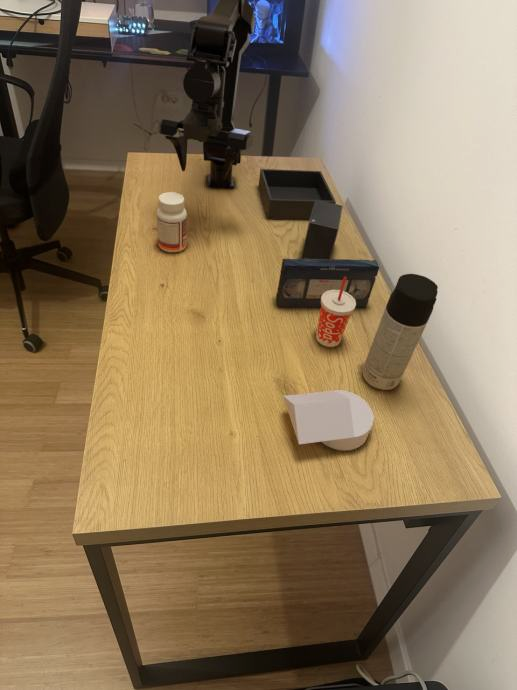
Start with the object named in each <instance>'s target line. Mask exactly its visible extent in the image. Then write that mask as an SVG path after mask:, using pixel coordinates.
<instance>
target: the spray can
mask: <svg viewBox="0 0 517 690" xmlns="http://www.w3.org/2000/svg"><path fill="white" fill-rule="evenodd" d="M438 289H439V286H438V284H436V282H435V281H433V280H432V279H430V278H428V277H426V276H424V275H421V274H417V273H407V274H402V275H400V276H399V278H398V280H397V282H396V284H395V287H394V289H393V291H392V292H391V293H390V295H389V298H388V300H387V303H386V306H385V308H384V311H383V314H382V316H381V319H380V321H379V324H378V327H377V330H376V332H375V335H374V337H373V340H372V343H371V345H370V348H369V351H368V353H367V355H366V359H365V361H364V364H363V366H362V371H361V372H362V374H361V375H362V378H363V379H364V382H366V383H367V384H368V385H369V386H370V387H372V388H374V389H376V390H382V391H390V390H393V389H395V388H396V387H397V386H398V385H400V382H401V381H402V380H401V379H402V378H403V376H404V374H405V372H406V370H407V368H408V365H409V363H410V361H411V358H412V356H413V354H414V352H415V351H416V348H417V346H418V344H419V342H420V340H421V337H422V335H423V333H424V331H425V329H426V327H427V324H428V322H429V320H430V317H431V315H432V314H433V311H434V307H435V305H436V301H437V297H438V292H439V291H438Z"/></svg>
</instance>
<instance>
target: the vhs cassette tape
mask: <svg viewBox="0 0 517 690" xmlns="http://www.w3.org/2000/svg"><path fill="white" fill-rule="evenodd" d="M379 270H380V266H379V263H378V261H377V259H372V260H371V259H350V258H349V259H348V258H347V259H345V258H343V259H342V258H341V259H340V258H338V259H337V258H335V259H330V260H328V259H301V258H282V261H281V267H280V272H279V273H280V274H279V279H278V280H279V281H278V284H277V291H276V296H275V298H276V304H277V307H279V308H321V297H322V295H323V293H325V292H326V291H329V290H340V289H341V285H342V282H343V278H344V276H345V277H347V278H346V282H345V285H344V289H343V291H344V292H347V293H348V294H350V295H351V296H352V297H353V298H354V299H355V301H356V306H355V308H365V307H367V306H368V303H369V301H370V297H371V294H372V291H373V288H374V285H375V283H376V280H377V276H378V273H379Z"/></svg>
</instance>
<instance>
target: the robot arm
mask: <svg viewBox="0 0 517 690" xmlns="http://www.w3.org/2000/svg"><path fill="white" fill-rule="evenodd" d="M255 24H256V15H255V9H254V7H253V6H252V5H251V4H249V2H248V1H247V0H217V2H216V4H215V6H214V8H213V9H212V12H211V13H210V15H204V16H201V17H200V18H198V19H197V20H196V22H195V25H193V26H192V29H191V33H190V39H189V42H188V48H187V52H186V61H187V62H192V63H193V67H190V68H189V69H187V71H186V73H185V74H184V77H183V81H182V84H183V85H182V87H183V91H184V92H185V95H186V96H187V97H188V98H189V99H190V100H192V101H191V109H190V111H189V112H188V113H187V114H186V116H185V118H182V117H177V116H172V115H171V116H168V117H165V118H162V119H161V120H160V121H159V129H158V131H159V132H158V133H159V134H160V135H165V140H168V141H170V143H171V144H172V145H173V147H174V149H175V152H176V155H177V159H178V161H179V165H180V169H181V171H182V172H185V171H186V168H187V159H188V158H187V157H188V140H189V141H190V140H194V141H198V142H199V143H202V150H203V151H202V152H203V153H202V154H203V161H205V162H206V161H207V162H209V163H210V164H209V165H210V166H209V173H208V174H207V183H208V188H218V189H220V188H221V189H235V188H234V187H235V184H234V180H233V167H234V166H235V167H236V166H237V165H239V164H241V163H242V162H241V161H242V152H243V151H247V150H248V149H249V148H250V147H252V146H253V141H254V140H253V139H254V136H253V133H252V131H251V130H245V129H242V128H241V129H240V128H237V127H236V126H235V124H234V123H235V122H234V117H235V115H234V114H235V109H236V101H237V93H238V92H237V91H238V84H239V77H240V68H241V67H240V66H241V60H242V54H243V53H244V52H245V50H246V49H247V48H248V47H249V45H250V41H251V36H252V35H254V32H255V26H256V25H255Z"/></svg>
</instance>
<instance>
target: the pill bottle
mask: <svg viewBox="0 0 517 690" xmlns="http://www.w3.org/2000/svg"><path fill="white" fill-rule="evenodd" d="M156 224H157V227H156V228H157V244H158V247H159V248H160V249H161V250H162V251H164V252H167V253H179V252H182V251H184V250H185V249H186V248H187V244H188V229H187V228H188V212H187V210H186V208H185V197H184V195H182V194H181V193H178V192H175V191H167V192H163V193H161V194H160V195H159V196H158V208H157V210H156Z"/></svg>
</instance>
